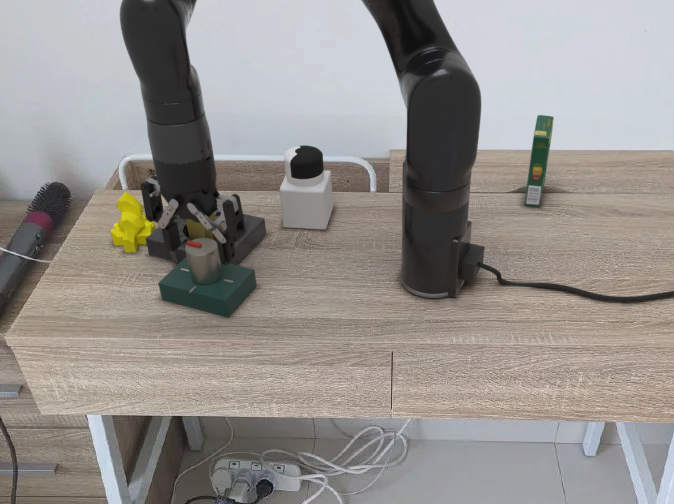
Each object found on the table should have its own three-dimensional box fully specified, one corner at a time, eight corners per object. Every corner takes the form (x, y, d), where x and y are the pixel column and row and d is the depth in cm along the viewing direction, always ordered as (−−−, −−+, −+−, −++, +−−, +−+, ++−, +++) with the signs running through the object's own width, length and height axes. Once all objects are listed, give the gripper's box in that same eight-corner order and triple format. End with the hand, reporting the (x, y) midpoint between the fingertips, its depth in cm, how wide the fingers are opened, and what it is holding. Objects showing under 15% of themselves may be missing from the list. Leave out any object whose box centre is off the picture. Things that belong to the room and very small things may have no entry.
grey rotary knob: (228, 270, 112) (222, 239, 109) (211, 287, 109) (205, 256, 106) (201, 264, 114) (195, 233, 110) (185, 280, 110) (178, 249, 107)
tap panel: (258, 285, 115) (255, 267, 113) (227, 318, 109) (224, 300, 107) (193, 269, 118) (190, 251, 116) (160, 301, 112) (156, 283, 110)
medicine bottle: (333, 208, 132) (329, 141, 124) (326, 230, 126) (321, 162, 118) (291, 205, 132) (285, 139, 124) (282, 228, 127) (275, 160, 119)
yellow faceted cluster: (111, 253, 121) (99, 209, 116) (121, 225, 127) (110, 182, 122) (150, 251, 121) (139, 207, 116) (158, 224, 127) (148, 181, 122)
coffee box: (540, 209, 132) (551, 136, 123) (523, 207, 132) (532, 134, 124) (544, 186, 138) (554, 115, 129) (528, 184, 138) (537, 113, 130)
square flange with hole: (268, 232, 126) (266, 216, 124) (225, 276, 116) (222, 260, 115) (194, 215, 130) (191, 199, 128) (146, 257, 120) (142, 240, 118)
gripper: (116, 149, 98) (142, 258, 108) (214, 171, 94) (231, 281, 104) (151, 125, 103) (172, 231, 114) (246, 145, 99) (259, 252, 110)
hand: (201, 255), depth 109 cm, fingers open, 8 cm apart
